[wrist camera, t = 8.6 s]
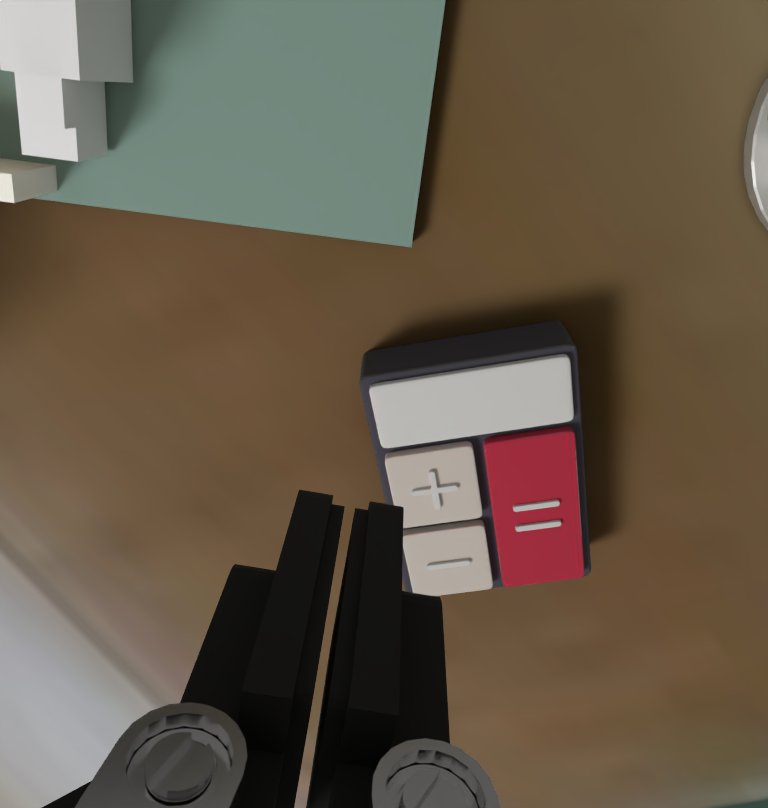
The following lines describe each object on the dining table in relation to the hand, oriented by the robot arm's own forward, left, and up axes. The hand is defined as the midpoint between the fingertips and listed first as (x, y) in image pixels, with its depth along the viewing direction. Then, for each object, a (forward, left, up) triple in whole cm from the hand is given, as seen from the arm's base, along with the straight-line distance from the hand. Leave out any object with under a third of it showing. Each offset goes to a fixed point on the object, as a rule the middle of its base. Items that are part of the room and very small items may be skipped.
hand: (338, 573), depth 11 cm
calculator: (-7, +12, -27) cm, 30 cm away
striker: (+14, -8, -25) cm, 30 cm away
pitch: (+11, -8, -26) cm, 30 cm away
